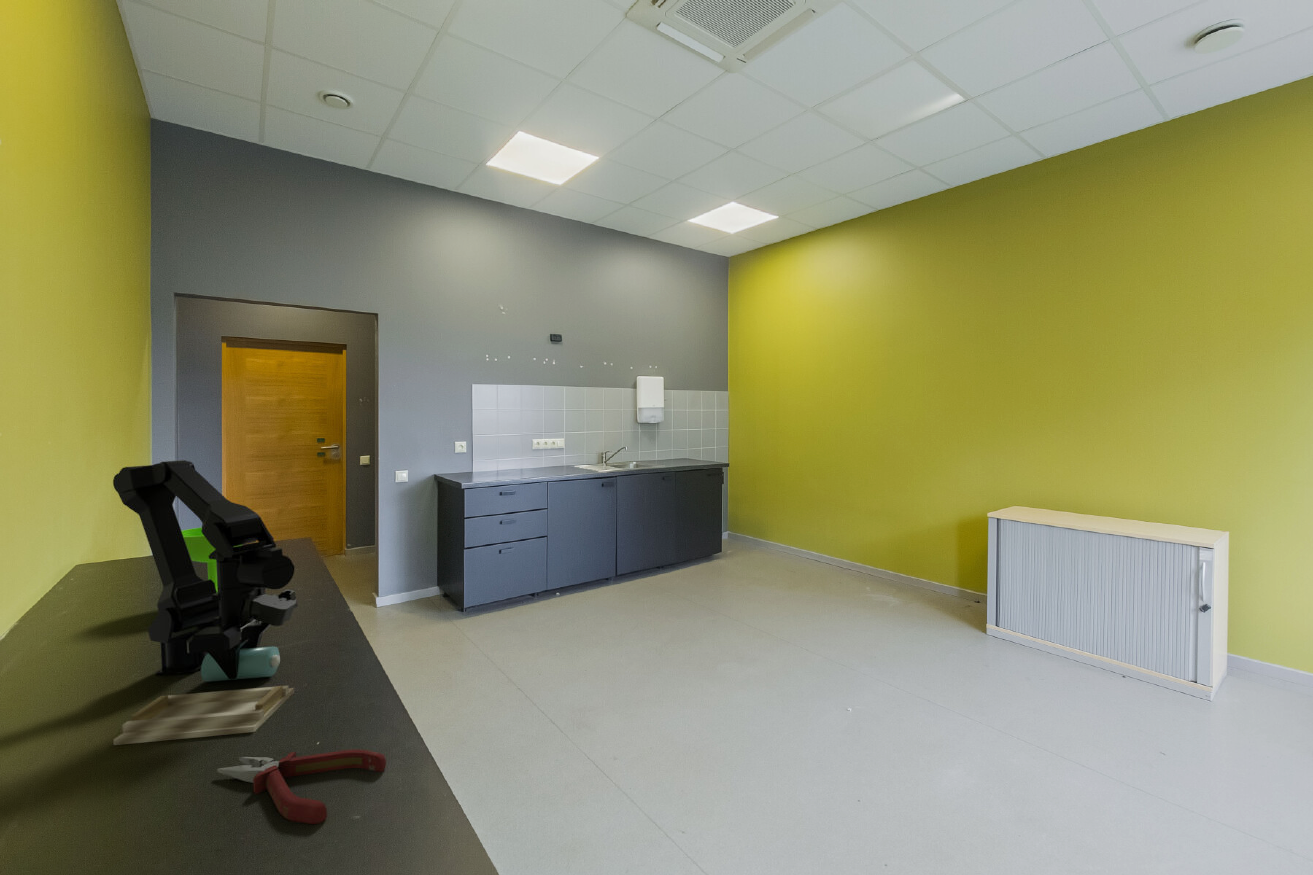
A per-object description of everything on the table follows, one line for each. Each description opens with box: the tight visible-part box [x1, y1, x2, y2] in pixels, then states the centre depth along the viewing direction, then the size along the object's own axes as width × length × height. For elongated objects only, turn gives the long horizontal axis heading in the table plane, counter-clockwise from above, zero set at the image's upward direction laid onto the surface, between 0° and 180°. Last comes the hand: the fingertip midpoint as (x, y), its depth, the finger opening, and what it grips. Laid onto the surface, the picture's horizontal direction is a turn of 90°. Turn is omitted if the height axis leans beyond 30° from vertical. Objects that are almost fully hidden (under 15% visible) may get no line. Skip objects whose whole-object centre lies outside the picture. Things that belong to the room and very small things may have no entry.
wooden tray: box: [113, 685, 295, 746], centre depth 87 cm, size 18×12×3 cm, turn 99°
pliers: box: [216, 748, 387, 825], centre depth 70 cm, size 12×20×3 cm, turn 75°
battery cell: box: [200, 646, 281, 682], centre depth 100 cm, size 11×5×5 cm, turn 99°
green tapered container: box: [181, 526, 241, 593], centre depth 145 cm, size 16×16×18 cm
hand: (241, 671), depth 100 cm, fingers closed on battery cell, 5 cm apart
